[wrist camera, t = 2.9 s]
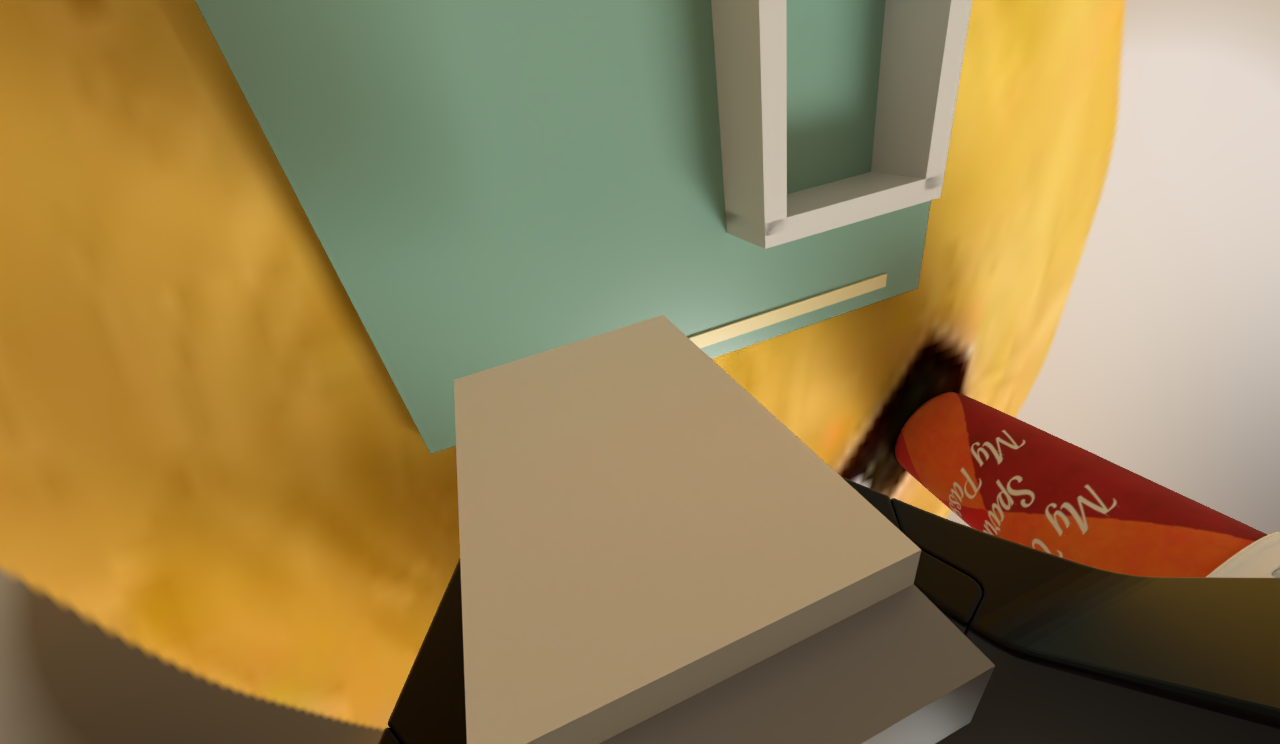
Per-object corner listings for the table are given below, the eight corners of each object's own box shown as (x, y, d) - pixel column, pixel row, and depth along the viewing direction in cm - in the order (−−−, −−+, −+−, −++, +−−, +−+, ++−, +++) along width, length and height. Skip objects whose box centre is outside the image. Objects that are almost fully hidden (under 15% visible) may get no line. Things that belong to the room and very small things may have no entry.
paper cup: (898, 388, 26) (1258, 602, 15) (997, 365, 29) (1376, 535, 17) (867, 495, 30) (1133, 733, 18) (957, 467, 32) (1244, 663, 21)
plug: (689, 496, 12) (915, 845, 6) (533, 560, 11) (628, 1033, 5) (662, 314, 9) (1011, 630, 4) (453, 379, 8) (473, 932, 3)
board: (900, 282, 23) (967, 306, 20) (431, 438, 18) (428, 500, 15) (954, -132, 15) (1073, -191, 12) (183, -51, 11) (83, -116, 8)
